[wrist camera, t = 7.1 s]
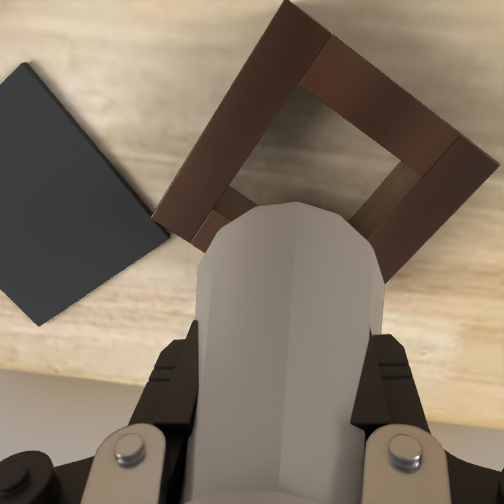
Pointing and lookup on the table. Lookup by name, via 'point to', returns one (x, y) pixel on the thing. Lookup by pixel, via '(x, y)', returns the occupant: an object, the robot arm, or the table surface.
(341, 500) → the salt shaker
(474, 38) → the table surface
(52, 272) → the mat
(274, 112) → the holder
